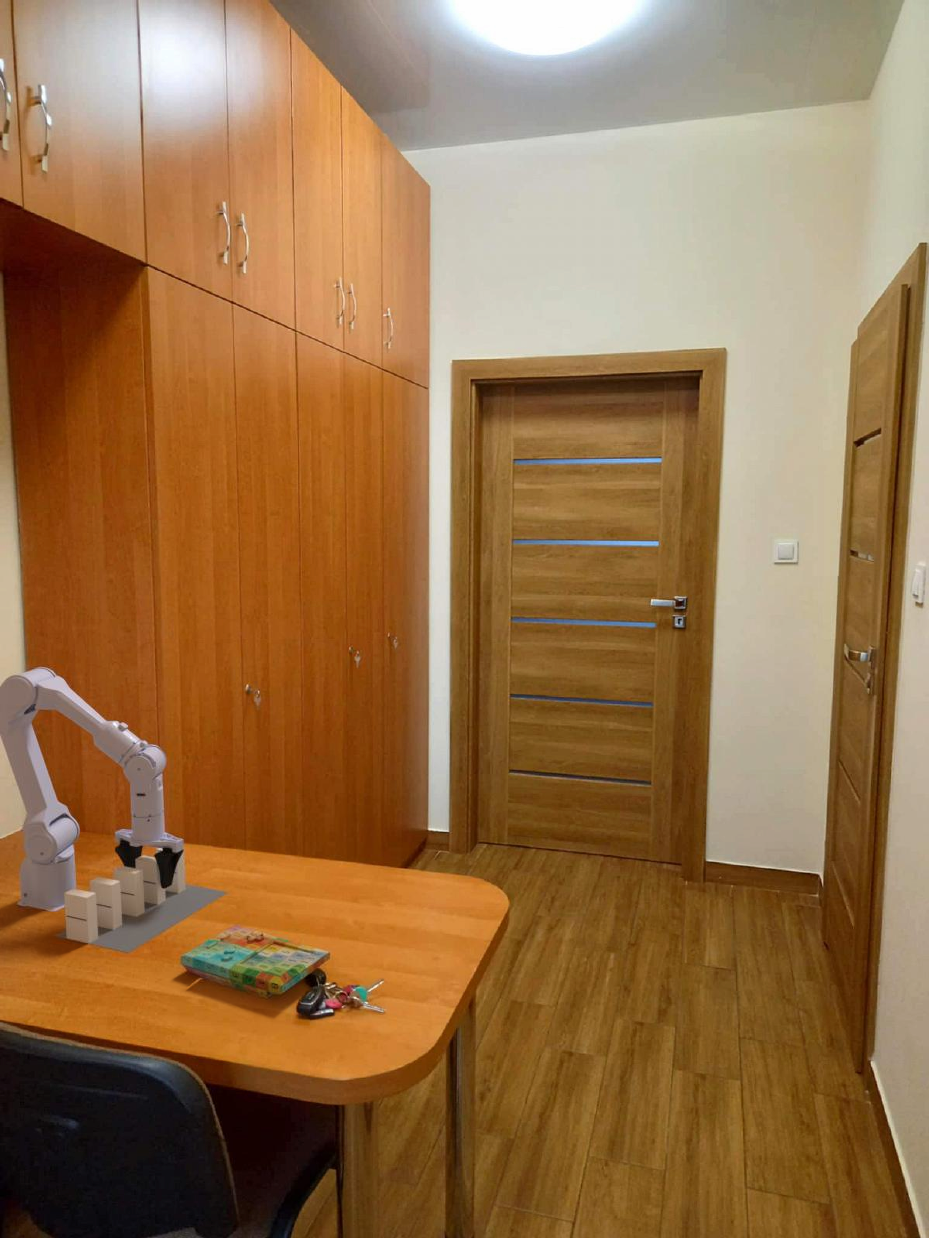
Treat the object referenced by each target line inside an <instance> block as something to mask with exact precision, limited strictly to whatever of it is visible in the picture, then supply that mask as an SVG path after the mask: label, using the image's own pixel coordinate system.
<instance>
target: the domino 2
mask: <svg viewBox="0 0 929 1238" xmlns="http://www.w3.org/2000/svg"><path fill="white" fill-rule="evenodd" d="M89 892H93V893H96V905H97V925H98V926H99V927H104V928H108V929H112V930H114V929H116V928H118V927H119V926H121V925H122V910H121V889H120V881H117V880H114V879H111V878H106V877H101V876H97V877H95V878H93V879H91V880H89Z"/></svg>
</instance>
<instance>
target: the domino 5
mask: <svg viewBox="0 0 929 1238" xmlns="http://www.w3.org/2000/svg"><path fill="white" fill-rule="evenodd" d="M160 851H163V849H162V848H156V849H155V852H156V853H158V852H160ZM156 853H155V854H156ZM185 863H186V862H185V850H184V851H183V853H182V855H181V857H180V859H179V861H178V863H177V866H176V869H175V873H174V877H173V882H172V885H171V886H169V887H167V888H165V891H170V892H175V893H180V892H182V891H183V890H185V889H186V886H185V884H186V868H185V865H186V864H185Z"/></svg>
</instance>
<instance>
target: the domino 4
mask: <svg viewBox="0 0 929 1238" xmlns="http://www.w3.org/2000/svg"><path fill="white" fill-rule="evenodd" d="M135 862H136V869H141V870H143V886H144V902H147V903H152V904H157V905H159V904H160V903H162V902H164V901H166V896H165V889H163V888H162V887H161V883H160V872H159V867H158V864H157V861H156V859H155V857H153V856H148V855H141V857H139V858H137V859H135Z"/></svg>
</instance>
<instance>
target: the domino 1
mask: <svg viewBox="0 0 929 1238" xmlns="http://www.w3.org/2000/svg"><path fill="white" fill-rule="evenodd" d="M64 897H65V907H64V912H65V929H66V930H65V931H66V934H67V940H71V939H72V940H71V941H75V940H76V941H75V942H79V941H80V943H83V942H84V944H88V943H91V942H93V941H95V940H96V939H98V925H97V905H96V893H93V892H90V891H87V890H82V889H77V888H76V889H72V890H70V891H68V892H66V893H64Z"/></svg>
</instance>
